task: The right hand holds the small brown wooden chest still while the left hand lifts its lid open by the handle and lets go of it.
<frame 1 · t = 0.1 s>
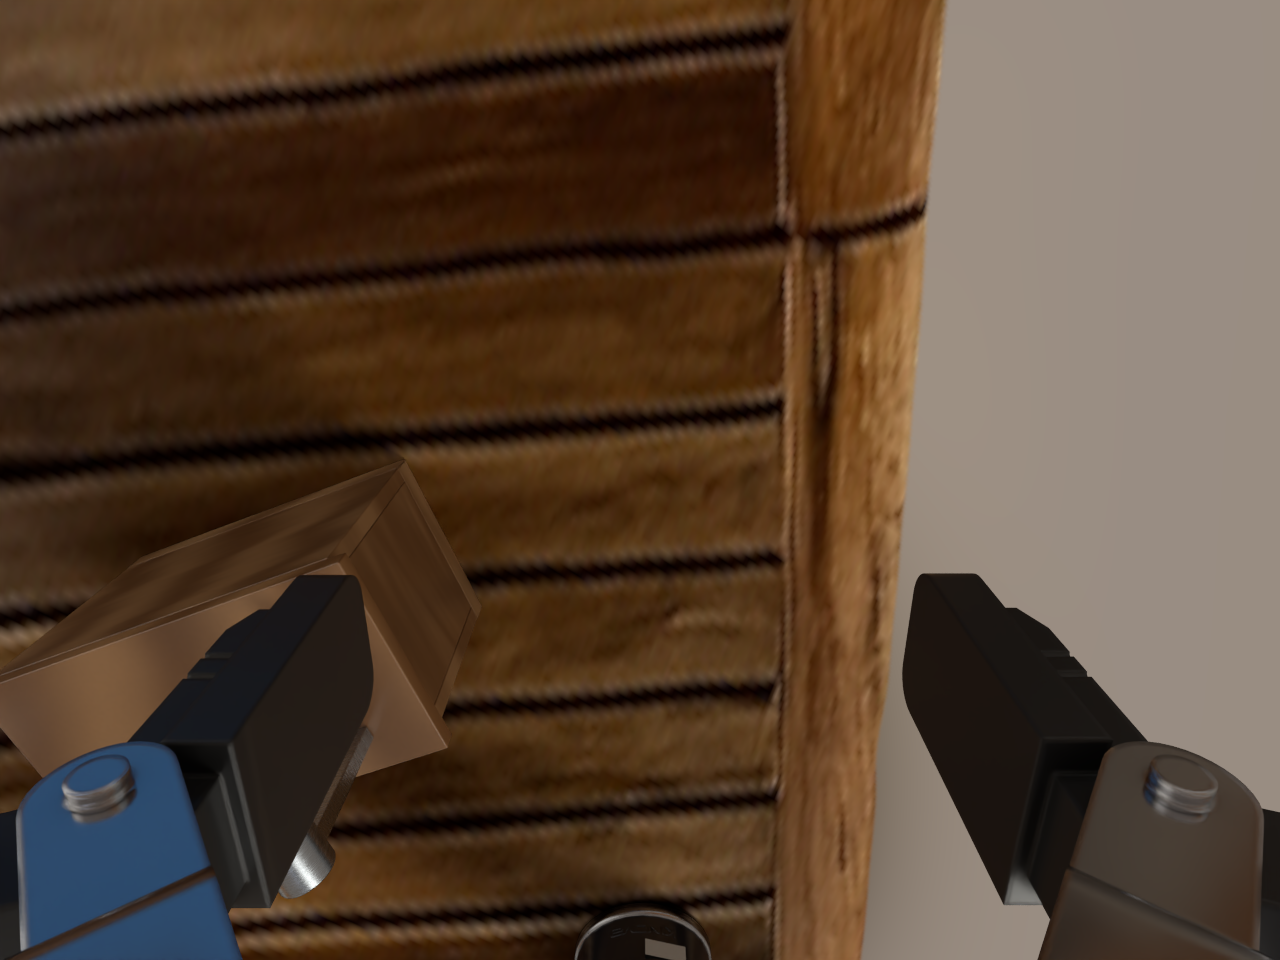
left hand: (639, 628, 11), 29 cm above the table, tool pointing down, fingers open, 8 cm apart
lid: (168, 779, 30), point 16 cm above the table, hinge at 0.0°
chest: (314, 581, 44), on the table
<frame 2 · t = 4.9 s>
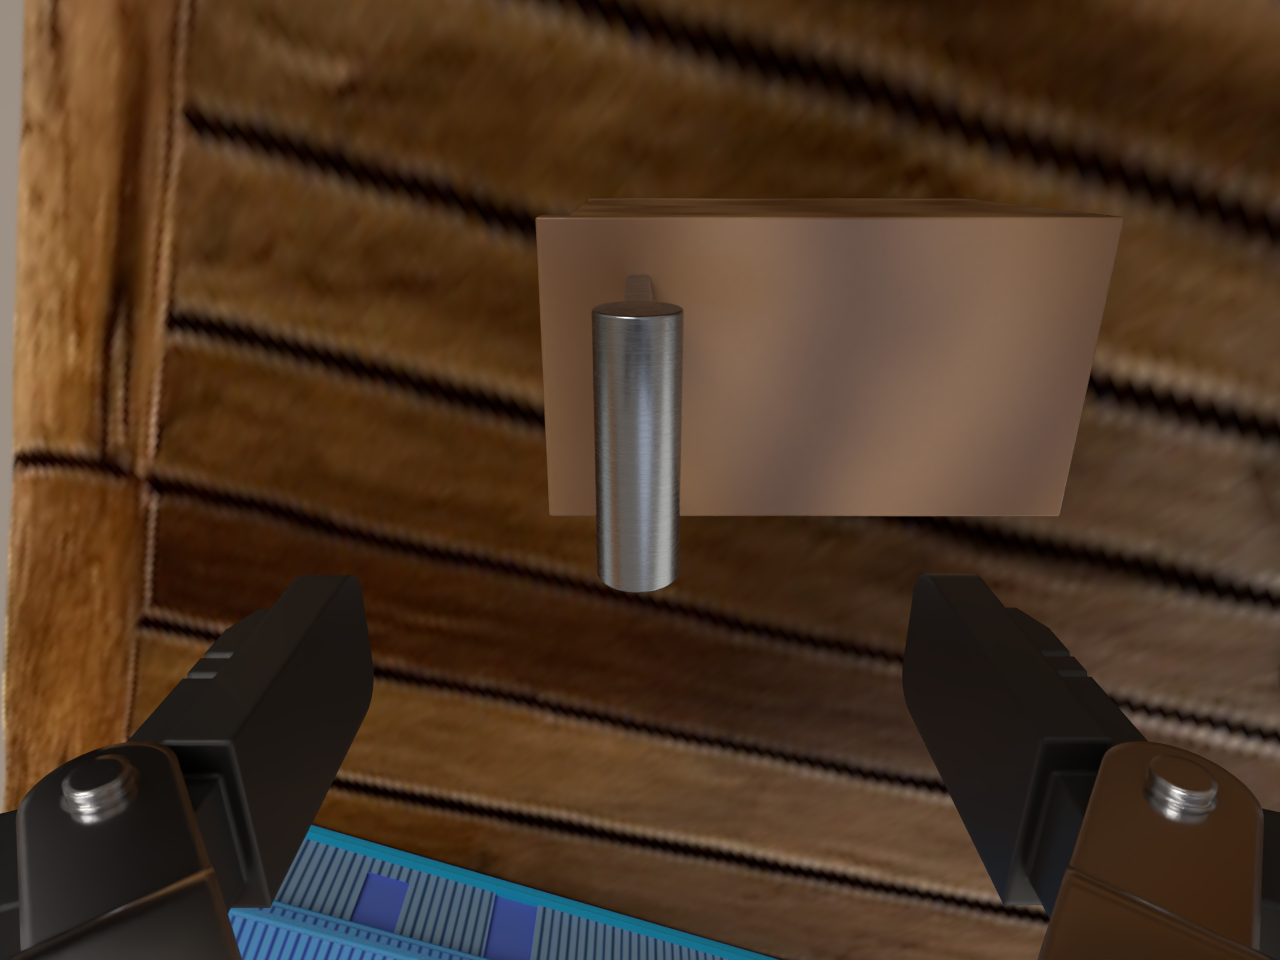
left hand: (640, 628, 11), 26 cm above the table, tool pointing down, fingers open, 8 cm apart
lid: (841, 409, 22), point 16 cm above the table, hinge at 0.0°
chest: (771, 309, 36), on the table
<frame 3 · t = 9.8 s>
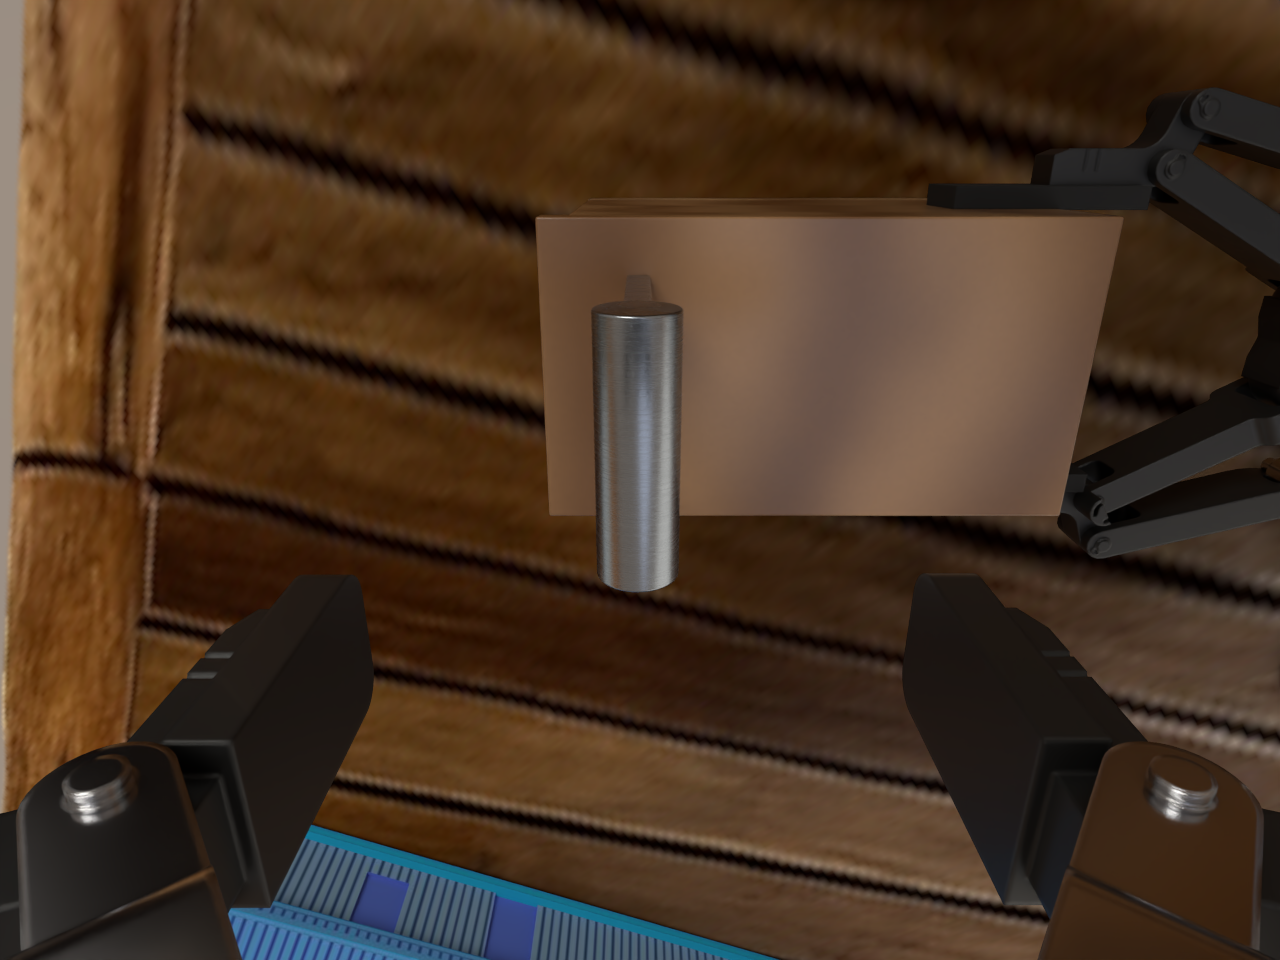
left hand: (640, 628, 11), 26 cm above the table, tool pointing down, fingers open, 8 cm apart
right hand: (921, 342, 30), fingers closed on chest, 10 cm apart
lid: (841, 408, 22), point 16 cm above the table, hinge at 0.0°
chest: (771, 309, 36), on the table, touching right hand
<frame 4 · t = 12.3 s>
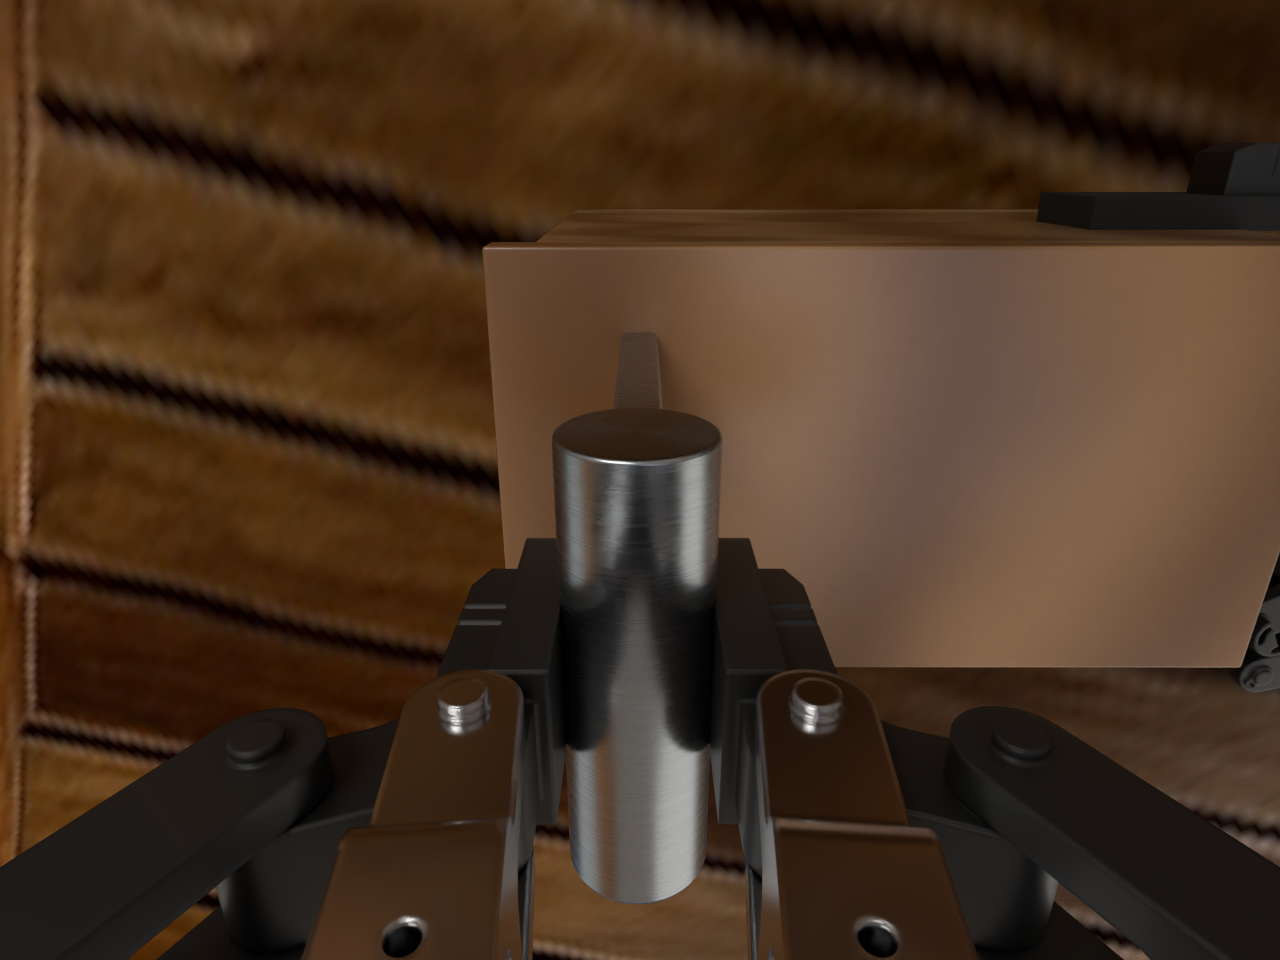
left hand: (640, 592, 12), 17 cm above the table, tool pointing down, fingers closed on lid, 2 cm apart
lid: (960, 552, 14), point 16 cm above the table, hinge at -0.1°, touching left hand
chest: (809, 351, 28), on the table, touching right hand
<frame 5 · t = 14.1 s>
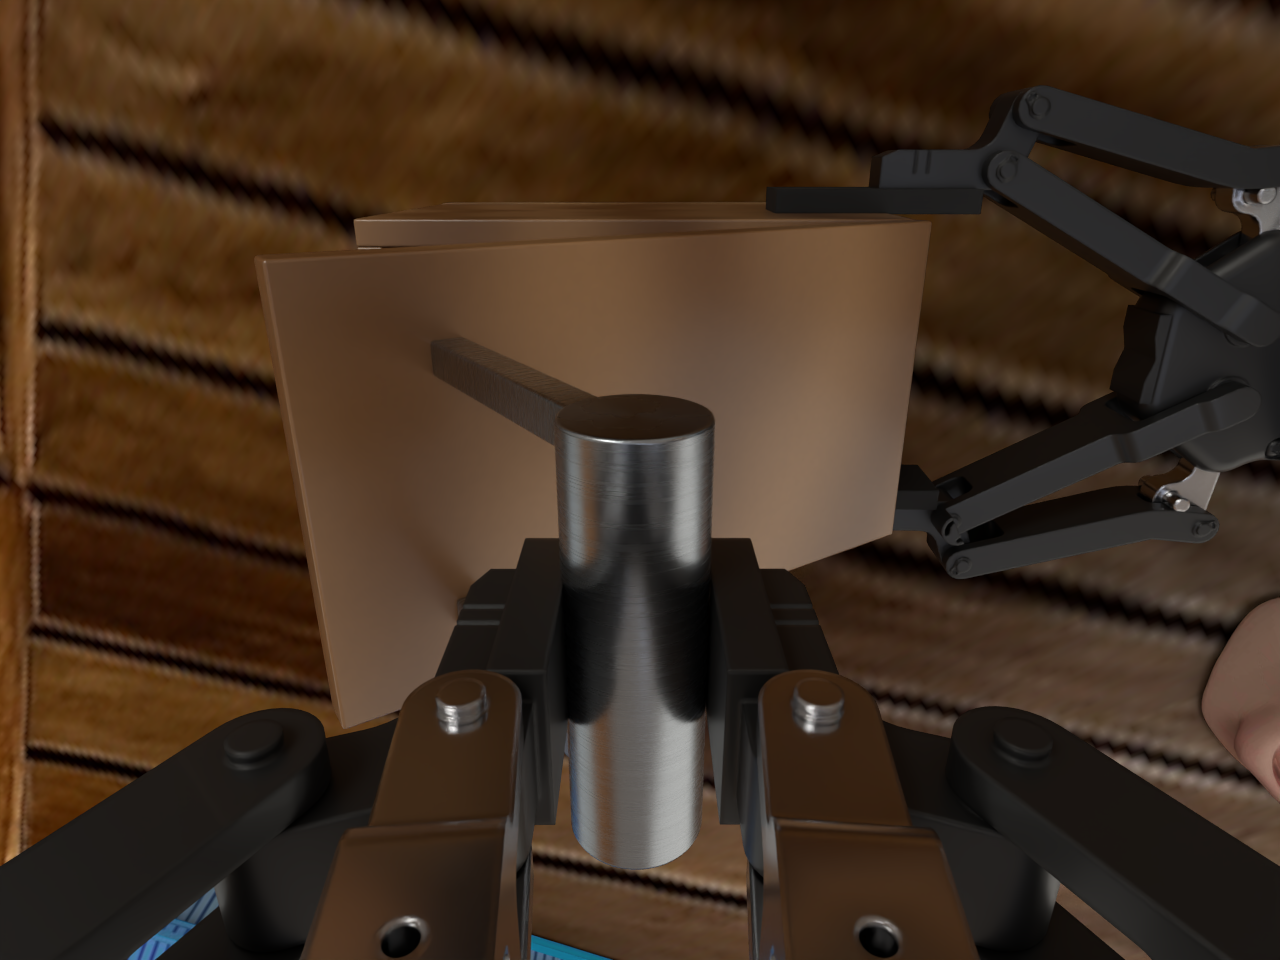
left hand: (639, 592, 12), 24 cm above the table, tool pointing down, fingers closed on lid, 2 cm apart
right hand: (762, 352, 28), fingers closed on chest, 10 cm apart
lid: (773, 484, 17), point 20 cm above the table, hinge at 35.4°, touching left hand
chest: (642, 316, 35), on the table, touching right hand
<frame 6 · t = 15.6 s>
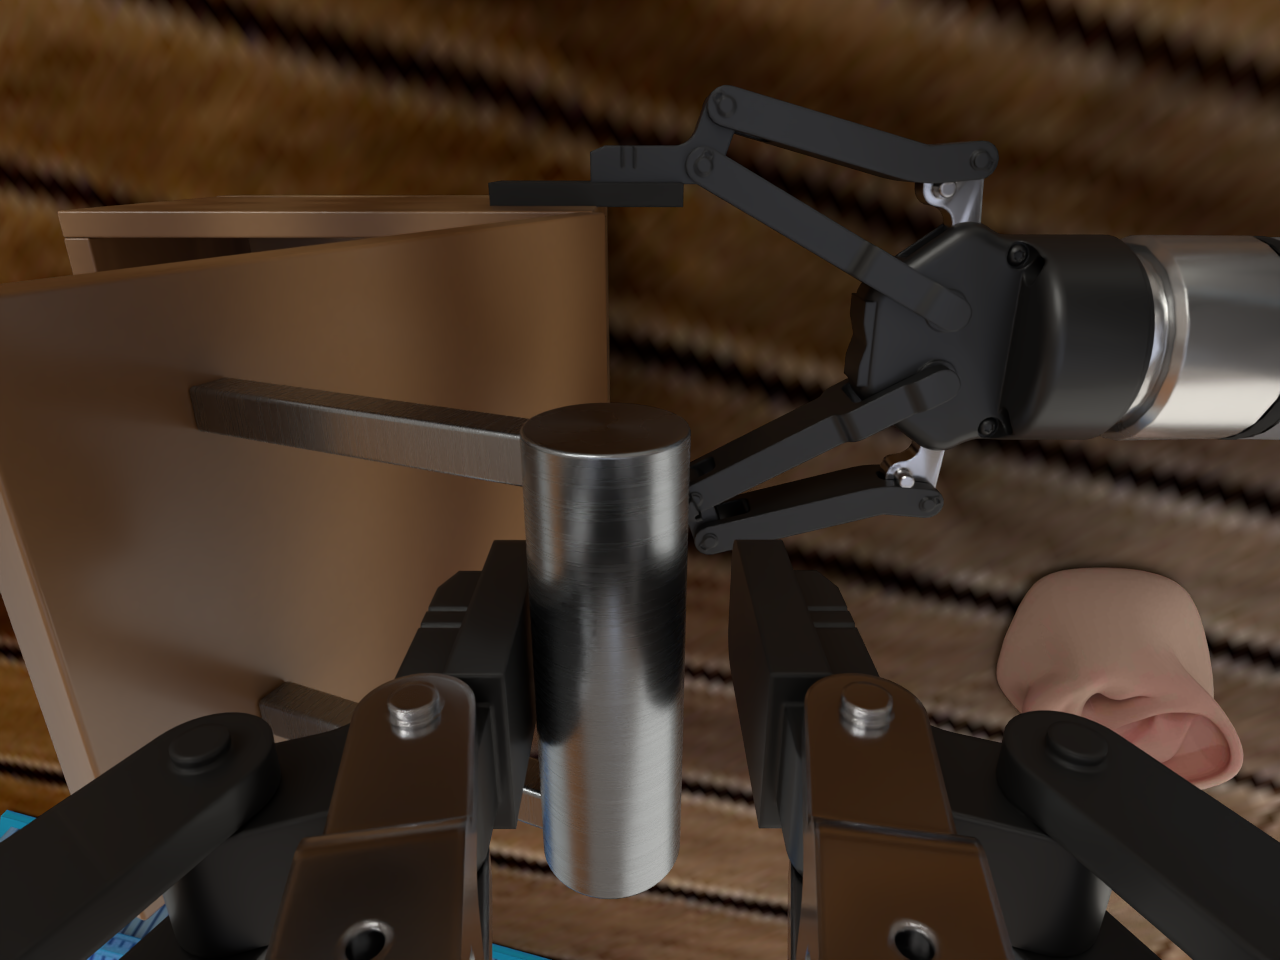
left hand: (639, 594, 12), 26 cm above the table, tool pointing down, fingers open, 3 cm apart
right hand: (505, 339, 30), fingers closed on chest, 10 cm apart
lid: (580, 480, 17), point 21 cm above the table, hinge at 67.0°
anatomical model: (1101, 663, 43), on the table
chest: (430, 306, 36), on the table, touching right hand
when the right hand's fingers open (7 cm above the table, at t = 19.6 s): chest stays where it is, on the table.
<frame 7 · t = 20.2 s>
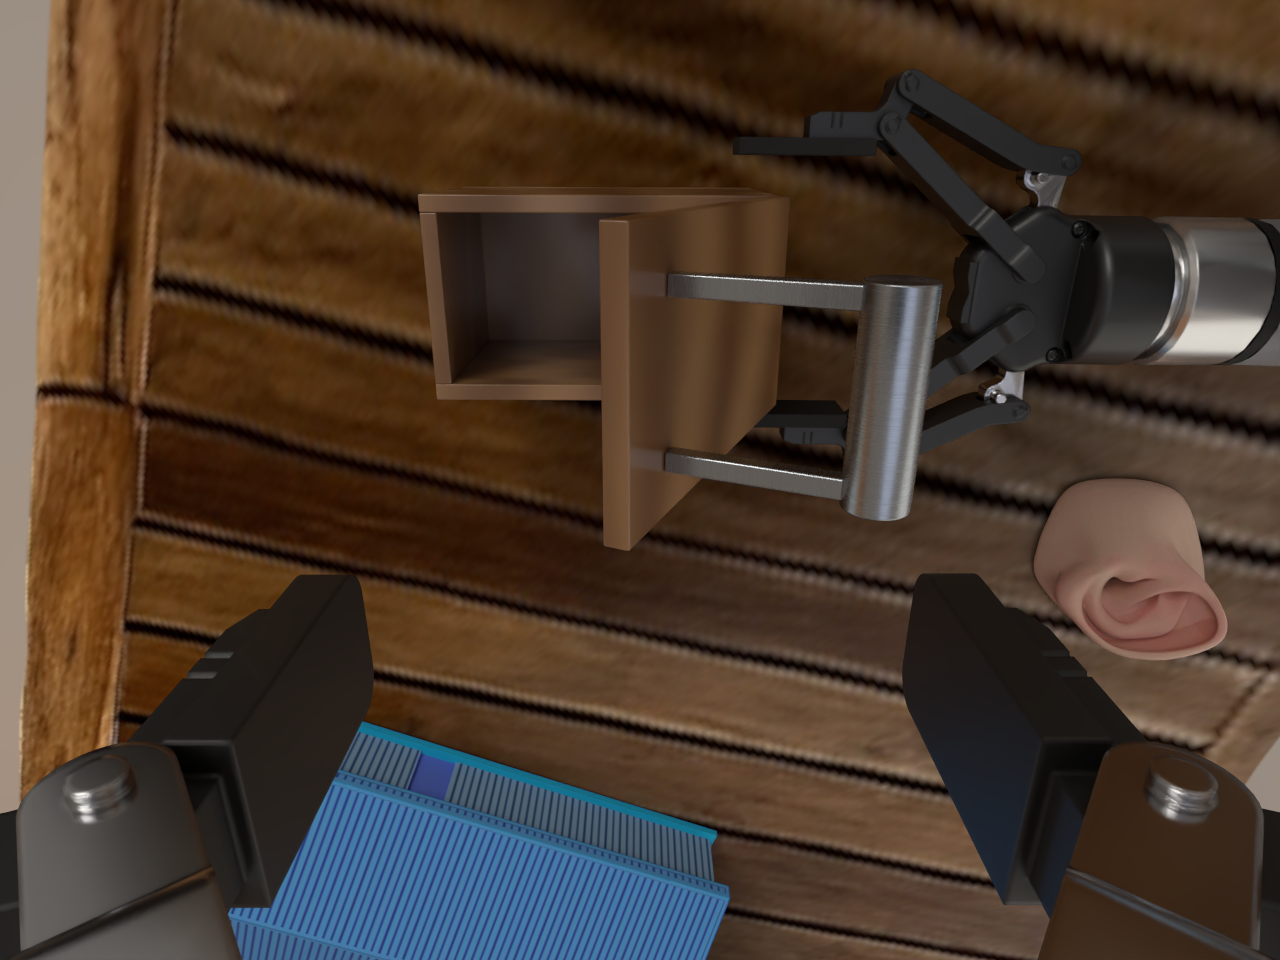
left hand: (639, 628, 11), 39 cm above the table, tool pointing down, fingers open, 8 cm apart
right hand: (727, 287, 41), fingers open, 13 cm apart
lid: (815, 349, 28), point 21 cm above the table, hinge at 66.1°
model building: (445, 863, 66), on the table
anatomical model: (1115, 558, 55), on the table
chest: (608, 271, 48), on the table
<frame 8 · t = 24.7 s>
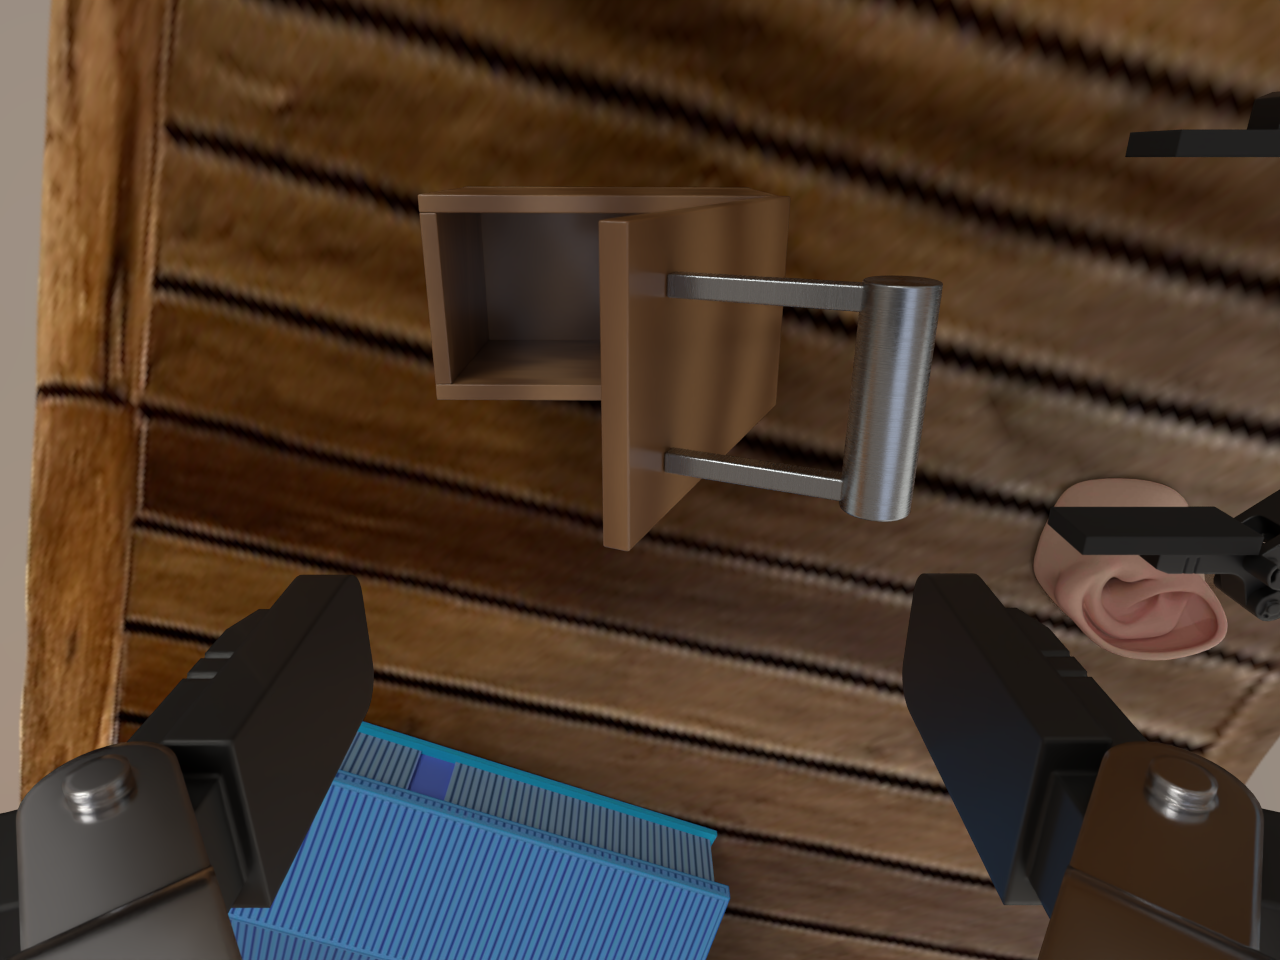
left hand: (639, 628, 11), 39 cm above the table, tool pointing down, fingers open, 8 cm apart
lid: (815, 349, 28), point 21 cm above the table, hinge at 66.1°
model building: (445, 863, 66), on the table
anatomical model: (1115, 558, 55), on the table
chest: (608, 271, 48), on the table
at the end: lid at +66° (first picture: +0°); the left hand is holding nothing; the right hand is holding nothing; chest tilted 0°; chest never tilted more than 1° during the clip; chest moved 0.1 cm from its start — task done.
